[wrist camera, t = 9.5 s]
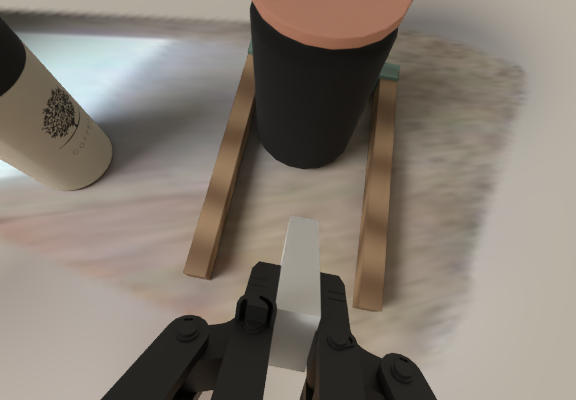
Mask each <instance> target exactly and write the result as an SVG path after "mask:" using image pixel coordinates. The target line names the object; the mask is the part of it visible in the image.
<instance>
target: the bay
mask: <svg viewBox="0 0 576 400" xmlns="http://www.w3.org/2000/svg"><path fill="white" fill-rule="evenodd" d="M399 69H400V65H394V64H389V63H385V64H384V66H383V68H382V70H381V72H380V74H379V77H378V79H377V81H376V83H375V85H374V88H373V90H372V92H373V93H374V97H373V107H372V117H371V127H370V137H369V148H368V158H367V168H366V178H365V188H364V198H363V208H362V218H361V228H360V239H359V249H358V259H357V269H356V279H355V289H354V299H353V308H357V309H362V310H368V311H373V312H375V311H382V304H383V289H384V274H385V259H386V244H387V228H388V213H389V198H390V183H391V168H392V153H393V138H394V123H395V108H396V93H397V81H398V79H399ZM255 108H256V98H255V83H254V67H253V51H252V38H251V42H250V45H249V48H248V56H247V59H246V63H245V66H244V69H243V73H242V76H241V80H240V83H239V86H238V90H237V93H236V96H235V100H234V103H233V106H232V110H231V113H230V117H229V120H228V123H227V127H226V130H225V133H224V137H223V140H222V143H221V147H220V150H219V154H218V157H217V160H216V164H215V167H214V170H213V174H212V177H211V180H210V184H209V187H208V191H207V194H206V197H205V201H204V204H203V207H202V211H201V214H200V217H199V221H198V224H197V228H196V231H195V234H194V238H193V241H192V244H191V248H190V251H189V254H188V258H187V261H186V265H185V268H184V271H183V273H184V274H186V275H188V276H191V277H196V278H201V279H206V280H210V278H211V275H212V271H213V267H214V263H215V259H216V256H217V252H218V248H219V244H220V241H221V237H222V233H223V229H224V225H225V222H226V218H227V214H228V210H229V206H230V203H231V199H232V195H233V191H234V188H235V184H236V180H237V176H238V172H239V169H240V165H241V161H242V157H243V153H244V150H245V146H246V142H247V138H248V135H249V131H250V127H251V123H252V119H253V116H254V112H255Z"/></svg>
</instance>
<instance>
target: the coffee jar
mask: <svg viewBox="0 0 576 400" xmlns="http://www.w3.org/2000/svg"><path fill="white" fill-rule="evenodd" d="M412 1H413V0H252V3H251V7H250V20H251V36H252V51H253V67H254V83H255V98H256V114H257V127H258V135H259V138H260V140H261V142H262V144H263V146H264V148H265V149H266V150H267V151H268V152H269V153H270V154H271V155H272V156H273V157H274V158H275V159H276V160H278V161H280V162H282V163H284V164H286V165H288V166H290V167H295V168H301V169H309V168H318V167H321V166H323V165H326V164H328V163H330V162H333V161H334V160H335V159H336V158H337V157H338V156H340V155H341V154H342V153H343V152H344V150H345V148H346V146H347V144H348V142H349V140H350V138H351V136H352V134H353V131H354V129H355V127H356V125H357V123H358V120H359V118H360V116H361V114H362V112H363V110H364V107H365V105H366V103H367V101H368V99H369V96H370V94H371V92H372V90H373V88H374V85H375V83H376V81H377V79H378V77H379V74H380V72H381V70H382V68H383V66H384V64H385V61H386V59H387V57H388V55H389V53H390V50H391V48H392V46H393V44H394V42H395V39H396V37H397V33H398V27H399V25H400V23H401V21H402V19H403V17H404V16H405V14H406V12H407V10H408V8H409V7H410V5H411V3H412Z"/></svg>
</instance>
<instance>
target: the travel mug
mask: <svg viewBox="0 0 576 400" xmlns="http://www.w3.org/2000/svg"><path fill="white" fill-rule="evenodd" d="M0 159H1V160H3V161H4V162H6V163H8V164H9V165H11V166H13V167H15V168H16V169H18V170H20V171H21V172H23V173H25V174H27V175H28V176H30V177H32V178H33V179H35V180H37V181H39V182H40V183H42V184H44V185H45V186H47V187H49V188H52V189H55V190H61V191H70V190H76V189H80V188H83V187H85V186H87V185H89V184H91V183H93V182H94V181H96V180H97V179H98V178H99V177H100V176H101V175H102V174H103V173H104V172H105V171H106V169H107V168H108V166H109V164H110V162H111V159H112V144H111V142H110V140H109V138H108V136H107V135H106V134H105V133H104V132H103V131H102V130H101V129H100V127H99V126H98V125H97V124H96V123H95V122H94V121H93V120H92V119H91V117H90V116H89V115H88V114H87V113H86V112H85V111H84V110H83V109H82V107H81V106H80V105H79V104H78V103H77V102H76V101H75V100H74V99H73V97H72V96H71V95H70V94H69V93H68V92H67V91H66V90H65V89H64V87H63V86H62V85H61V84H60V83H59V82H58V81H57V80H56V79H55V77H54V76H53V75H52V74H51V73H50V72H49V71H48V70H47V69H46V67H45V66H44V65H43V64H42V63H41V62H40V61H39V60H38V59H37V57H36V56H35V55H34V54H33V53H32V52H31V51H30V50H29V49H28V47H27V46H26V45H25V44H24V43H23V42H22V41H21V40H20V39H19V37H18V36H17V35H16V34H15V33H14V32H13V31H12V30H11V29H10V27H9V26H8V25H7V24H6V23H5V22H4V21H3V20H2V19H1V18H0Z"/></svg>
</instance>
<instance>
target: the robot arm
mask: <svg viewBox="0 0 576 400" xmlns="http://www.w3.org/2000/svg"><path fill="white" fill-rule="evenodd" d="M345 294H346V293H345V285H344V283H343V282H342V280H341V279H340V277H339V276H336V275H331V274H326V273H321V272H320V253H319V220H313V219H308V218H303V217H298V216H293V215H290V219H289V224H288V229H287V234H286V239H285V244H284V249H283V254H282V259H281V265H275V264H270V263H265V262H260V261H259V262H258V263H257V264H256V265H255V266H254V267H253V268H252V271H251V274H250V278H249V281H248V285H247V288H246V291H245V294H244V295H243V296H242V297H240V299H239V300H238V302H237V307H236V314H235V318H234V319H232V320H231V321H228V322H226V323H222V324H215V325H208V324H207V322H206V321H205V320H204V319H202V318H201V317H199V316H194V315H185V316H182V317H179V318H176V319H175V320H174V321H172V322H171V323H170V324H169V325H168V326H167V327H166V328H165V329H164V330H163V332H162V333H161V334H160V335H159V336H158V337H157V338H156V339H155V340H154V341H153V343H152V344H151V345H150V346H149V347H148V348H147V349H146V350H145V351H144V353H143V354H142V355H141V356H140V357H139V358H138V359H137V360H136V362H134V364H133V365H132V366H131V367H130V368H129V369H128V370H127V371H126V373H125V374H124V375H123V376H122V377H121V378H120V379H119V380H118V381H117V382H116V383H115V385H114V386H113V387H112V388H111V389H110V390H109V391H108V392H107V394H105V396H104V397H103V398H102V399H101V400H198V398H199V397H200V395H201V394H202V391H208V390H214V391H213V394H212V397H211V400H263V395H264V388H265V381H266V374H267V368H268V365H270V366H275V367H280V368H285V369H290V370H295V371H301V372H305V369H306V366H307V377H306V380H305V383H304V386H303V390H302V393H301V397H300V400H437V399H436V397H435V395H434V393H433V392H432V390H431V388H430V386H429V385H428V383H427V381H426V379H425V378H424V376H423V374H422V372H421V371H420V369H419V368H418V367H417V365H416V364H415V363H414V362H412V361H411V360H410V359H409V358H407V357H405V356H403V355H401V354H396V353H390V354H386V355H385V356H384V357H383V358H380V357H378V356H375V355H373V354H371V353H369V352H368V351H366V350H364V349H363V348H362V347H360V346H359V345H358V344H357V341H356V338H355V337H354V336H353V335H352V333H351V331H350V324H349V316H348V308H347V303H346V302H347V301H346V295H345Z"/></svg>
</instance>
